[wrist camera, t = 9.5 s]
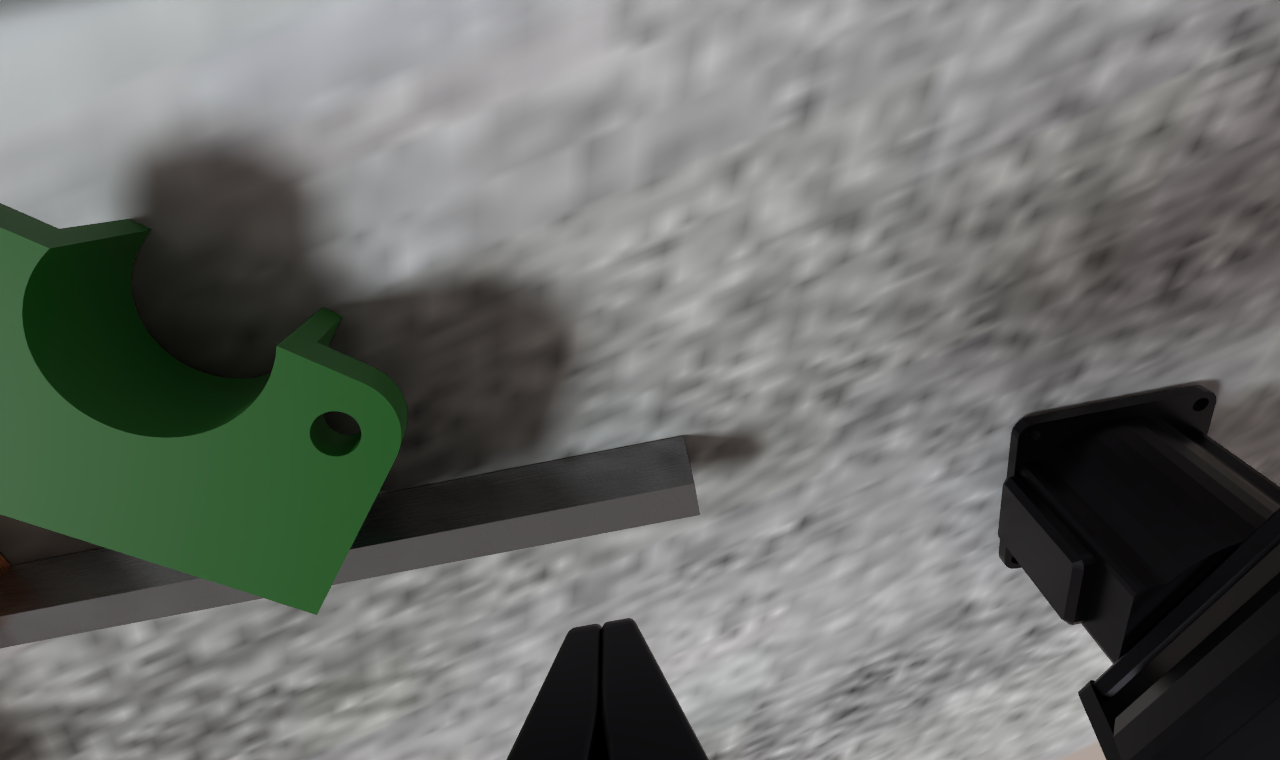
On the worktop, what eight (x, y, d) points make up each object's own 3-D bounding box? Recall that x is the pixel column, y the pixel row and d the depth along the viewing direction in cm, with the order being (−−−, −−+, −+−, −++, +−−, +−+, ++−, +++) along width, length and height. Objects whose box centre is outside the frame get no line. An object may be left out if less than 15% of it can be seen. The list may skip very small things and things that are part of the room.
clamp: (391, 300, 24) (485, 425, 17) (320, 446, 25) (384, 618, 18) (-90, 122, 16) (-255, 224, 10) (-166, 344, 17) (-364, 579, 11)
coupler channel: (569, -198, 15) (567, -257, 11) (688, 465, 23) (708, 549, 20) (-525, 35, 15) (-858, 49, 12) (-11, 599, 24) (-112, 705, 20)
